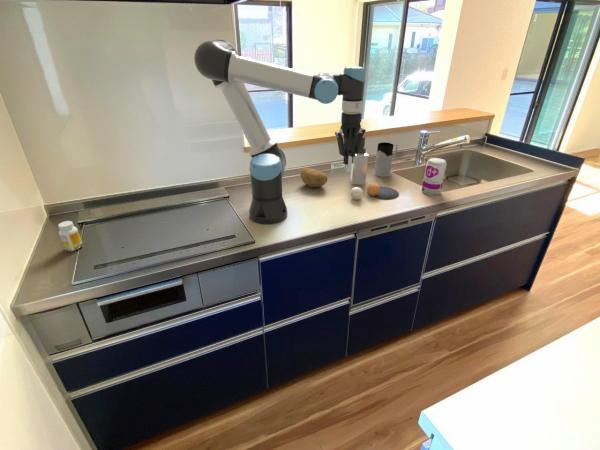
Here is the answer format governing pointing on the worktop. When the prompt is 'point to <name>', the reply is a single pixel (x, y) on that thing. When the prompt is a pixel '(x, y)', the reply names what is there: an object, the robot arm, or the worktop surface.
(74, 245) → the supplement bottle
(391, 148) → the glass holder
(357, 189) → the cue ball
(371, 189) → the object ball
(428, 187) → the supplement can
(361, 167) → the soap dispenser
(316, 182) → the potato
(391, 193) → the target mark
